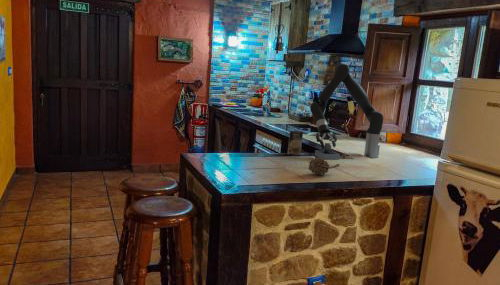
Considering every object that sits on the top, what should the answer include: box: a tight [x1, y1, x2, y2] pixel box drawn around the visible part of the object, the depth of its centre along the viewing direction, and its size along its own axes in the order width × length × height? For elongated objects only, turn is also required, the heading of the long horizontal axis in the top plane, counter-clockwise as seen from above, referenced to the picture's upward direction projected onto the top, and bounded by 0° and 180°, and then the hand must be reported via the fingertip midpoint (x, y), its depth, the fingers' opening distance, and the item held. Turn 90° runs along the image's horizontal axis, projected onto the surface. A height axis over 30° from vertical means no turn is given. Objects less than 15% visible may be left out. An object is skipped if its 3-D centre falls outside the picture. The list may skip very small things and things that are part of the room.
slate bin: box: [314, 149, 341, 162], centre depth 281 cm, size 12×13×5 cm
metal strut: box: [323, 142, 333, 154], centre depth 280 cm, size 4×4×10 cm
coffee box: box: [287, 130, 304, 156], centre depth 290 cm, size 9×6×16 cm
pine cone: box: [307, 157, 340, 176], centre depth 238 cm, size 22×10×10 cm, turn 124°
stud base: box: [339, 152, 354, 160], centre depth 285 cm, size 11×11×5 cm
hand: (329, 146), depth 278 cm, fingers open, 8 cm apart
